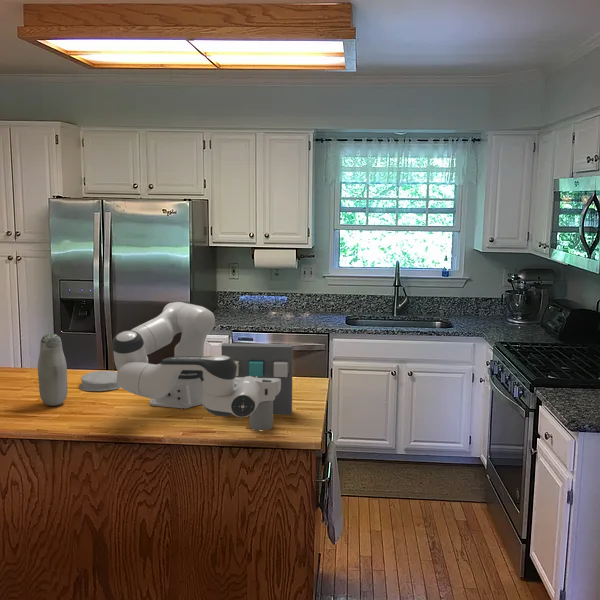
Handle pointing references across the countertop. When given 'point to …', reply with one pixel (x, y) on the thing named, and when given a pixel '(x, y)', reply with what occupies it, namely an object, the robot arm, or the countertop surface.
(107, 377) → the food container
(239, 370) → the cream push-block
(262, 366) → the teal push-block
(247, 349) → the button panel
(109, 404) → the countertop surface
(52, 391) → the grey bottle
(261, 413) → the cup
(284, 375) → the light grey push-block
